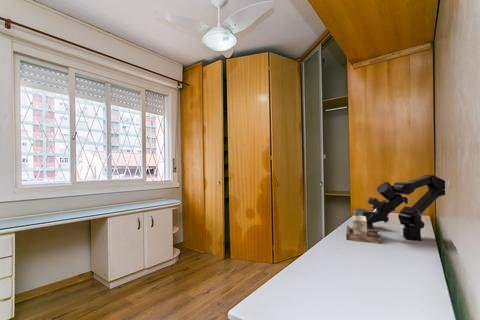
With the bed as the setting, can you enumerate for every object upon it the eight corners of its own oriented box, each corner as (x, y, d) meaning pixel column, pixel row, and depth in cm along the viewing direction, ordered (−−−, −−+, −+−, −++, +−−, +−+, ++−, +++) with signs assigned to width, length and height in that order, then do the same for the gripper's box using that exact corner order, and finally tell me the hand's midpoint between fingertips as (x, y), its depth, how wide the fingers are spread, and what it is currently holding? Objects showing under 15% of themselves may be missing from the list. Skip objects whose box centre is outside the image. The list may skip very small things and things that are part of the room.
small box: (374, 229, 131) (373, 211, 131) (362, 230, 131) (362, 212, 131) (363, 225, 142) (363, 208, 142) (353, 225, 142) (352, 208, 142)
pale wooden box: (366, 232, 124) (365, 216, 124) (367, 239, 114) (366, 220, 114) (353, 231, 126) (353, 215, 127) (353, 237, 116) (353, 219, 117)
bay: (377, 233, 124) (377, 228, 124) (381, 243, 109) (380, 237, 109) (347, 230, 130) (346, 225, 130) (346, 239, 116) (346, 233, 116)
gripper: (375, 189, 125) (353, 208, 130) (379, 194, 108) (354, 215, 113) (393, 205, 122) (370, 223, 126) (400, 211, 105) (373, 233, 109)
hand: (366, 223), depth 119 cm, fingers closed, pressing on pale wooden box
